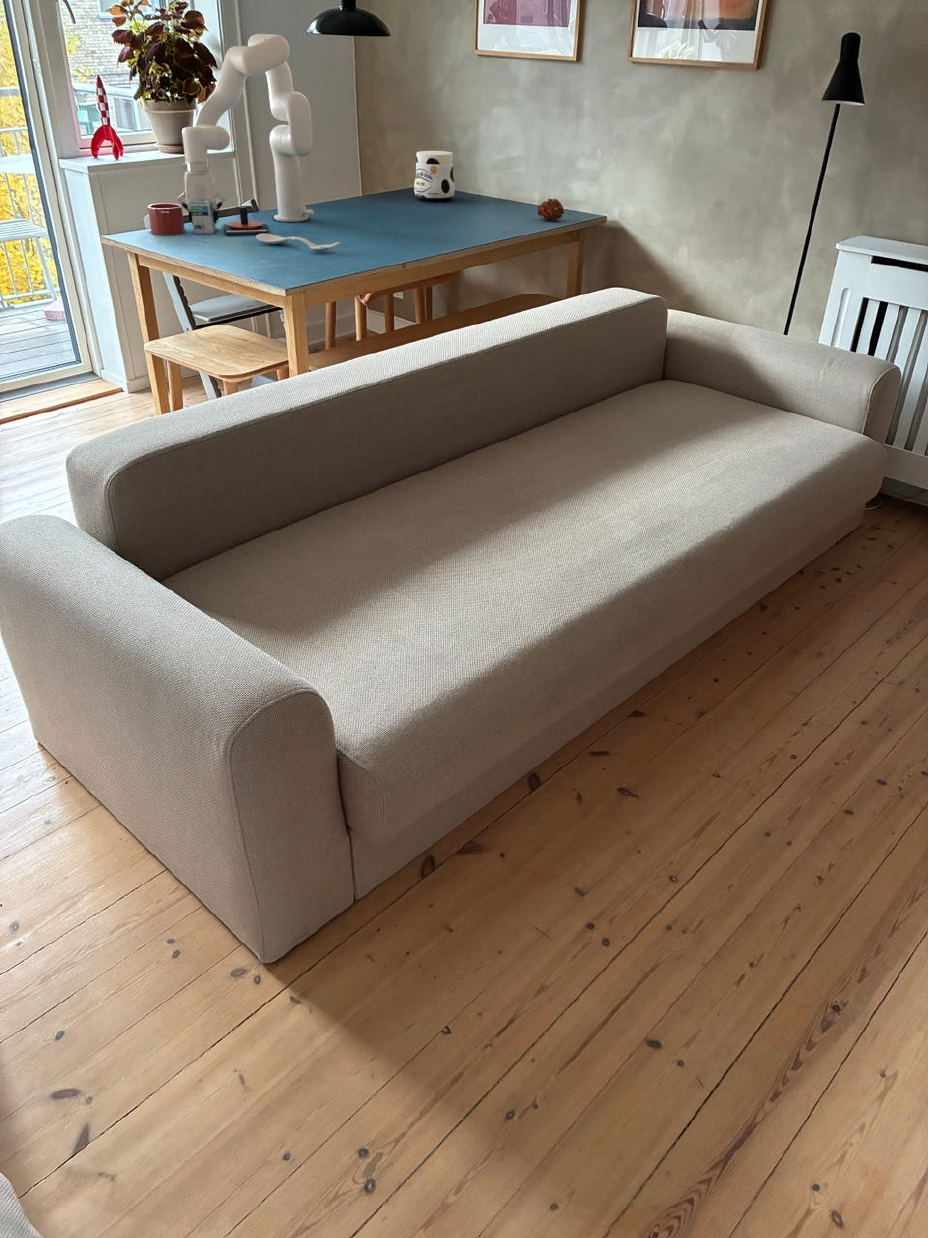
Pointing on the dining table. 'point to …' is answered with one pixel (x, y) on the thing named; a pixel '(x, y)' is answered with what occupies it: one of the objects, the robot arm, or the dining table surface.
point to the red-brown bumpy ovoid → (551, 210)
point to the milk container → (434, 175)
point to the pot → (166, 219)
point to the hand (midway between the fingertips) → (204, 222)
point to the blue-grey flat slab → (245, 231)
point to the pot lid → (244, 221)
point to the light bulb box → (202, 217)
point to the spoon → (277, 240)
